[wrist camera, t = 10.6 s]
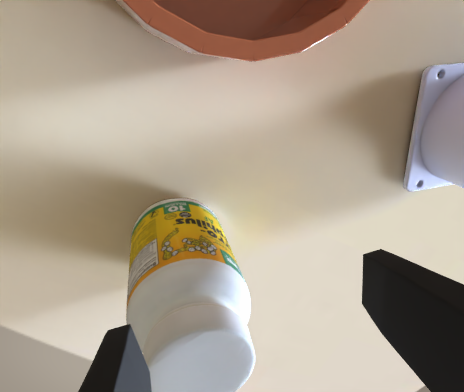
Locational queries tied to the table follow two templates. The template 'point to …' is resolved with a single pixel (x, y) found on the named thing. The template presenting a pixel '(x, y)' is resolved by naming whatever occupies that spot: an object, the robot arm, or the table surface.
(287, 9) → the crock
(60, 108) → the table surface
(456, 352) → the robot arm
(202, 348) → the supplement bottle
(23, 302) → the table surface
